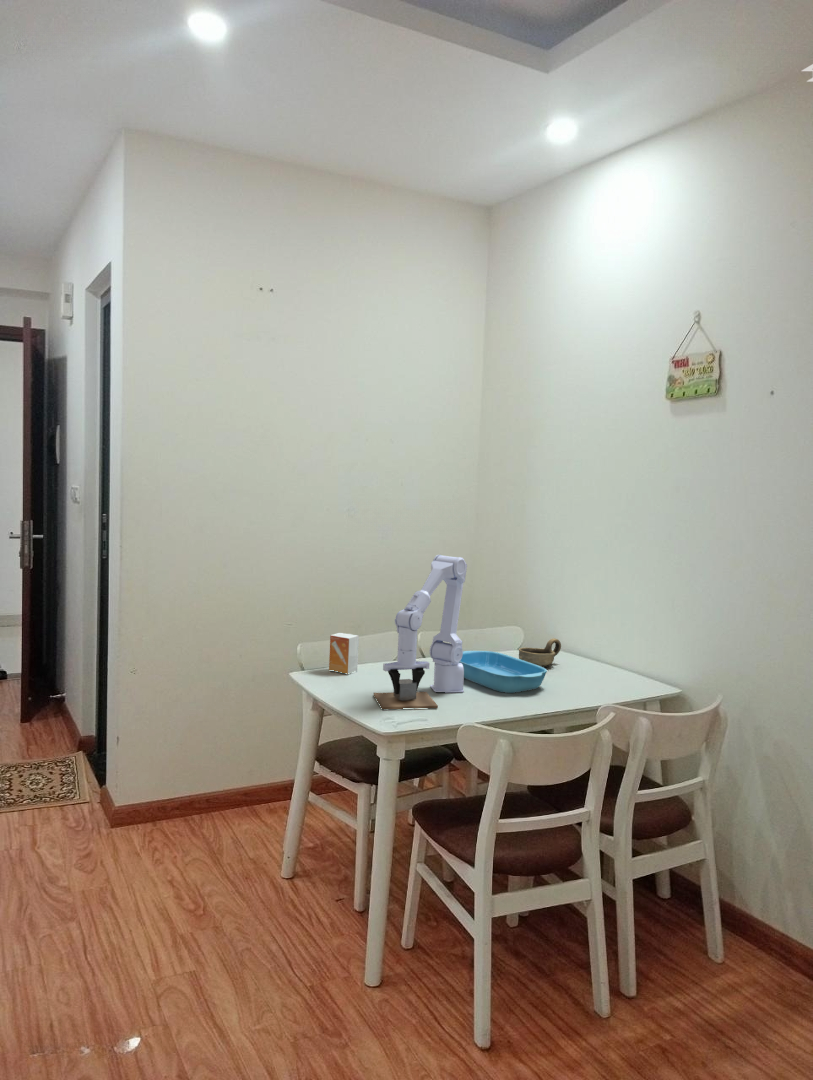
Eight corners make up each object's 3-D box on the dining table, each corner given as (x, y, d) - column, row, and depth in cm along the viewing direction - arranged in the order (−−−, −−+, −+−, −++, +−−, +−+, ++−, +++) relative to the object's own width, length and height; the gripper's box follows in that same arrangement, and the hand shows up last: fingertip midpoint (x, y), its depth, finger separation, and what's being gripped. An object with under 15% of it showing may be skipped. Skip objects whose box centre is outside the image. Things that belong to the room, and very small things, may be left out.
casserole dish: (558, 691, 270) (559, 670, 269) (508, 700, 257) (509, 677, 256) (486, 666, 300) (487, 647, 299) (438, 673, 287) (439, 653, 286)
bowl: (510, 662, 306) (511, 636, 306) (548, 660, 314) (550, 634, 313) (529, 671, 294) (531, 644, 293) (569, 668, 301) (571, 642, 300)
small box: (328, 671, 282) (329, 634, 281) (338, 668, 288) (340, 632, 286) (347, 675, 278) (349, 638, 277) (357, 671, 284) (359, 635, 283)
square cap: (409, 694, 252) (410, 678, 252) (416, 699, 247) (416, 682, 247) (393, 695, 251) (394, 679, 250) (399, 700, 246) (400, 683, 245)
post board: (426, 694, 258) (426, 681, 258) (437, 708, 243) (438, 694, 243) (373, 695, 254) (374, 681, 254) (382, 710, 240) (382, 695, 239)
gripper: (424, 645, 254) (422, 687, 255) (380, 647, 248) (378, 690, 250) (432, 650, 247) (430, 693, 248) (388, 652, 242) (386, 696, 243)
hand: (405, 692), depth 249 cm, fingers closed on square cap, 5 cm apart
